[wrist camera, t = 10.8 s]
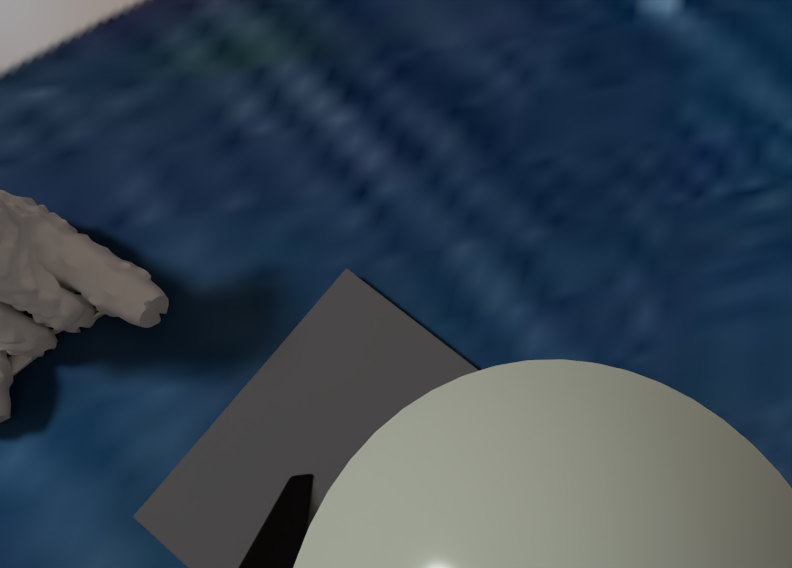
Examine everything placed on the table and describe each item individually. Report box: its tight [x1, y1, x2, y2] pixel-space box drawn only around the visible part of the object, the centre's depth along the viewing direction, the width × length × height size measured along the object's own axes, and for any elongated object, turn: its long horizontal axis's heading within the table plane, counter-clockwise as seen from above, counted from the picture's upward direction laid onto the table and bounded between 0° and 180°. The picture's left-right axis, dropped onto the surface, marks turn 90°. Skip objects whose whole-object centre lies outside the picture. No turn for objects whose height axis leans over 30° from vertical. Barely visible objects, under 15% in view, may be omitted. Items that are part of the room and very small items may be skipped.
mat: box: [133, 268, 479, 568], centre depth 21 cm, size 16×13×1 cm
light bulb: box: [293, 359, 792, 568], centre depth 10 cm, size 6×6×11 cm
